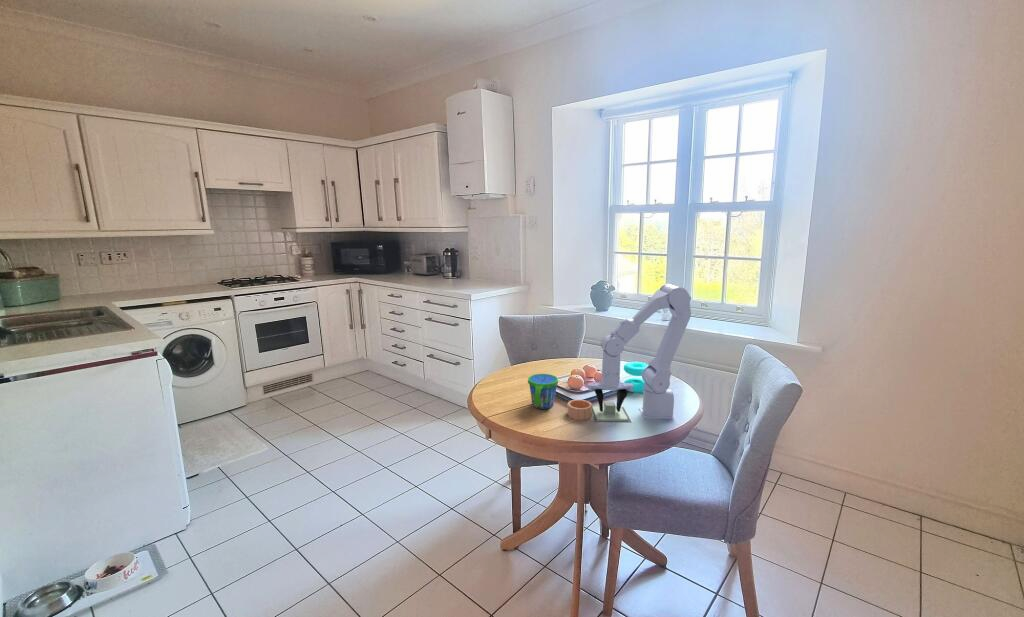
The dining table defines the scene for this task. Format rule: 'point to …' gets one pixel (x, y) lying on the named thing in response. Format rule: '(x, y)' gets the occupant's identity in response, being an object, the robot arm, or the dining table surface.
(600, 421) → the mat
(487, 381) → the dining table surface
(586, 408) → the bowl
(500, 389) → the dining table surface
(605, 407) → the lid
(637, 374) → the donuts
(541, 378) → the snack cup
